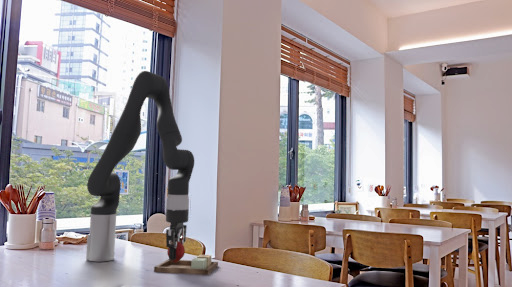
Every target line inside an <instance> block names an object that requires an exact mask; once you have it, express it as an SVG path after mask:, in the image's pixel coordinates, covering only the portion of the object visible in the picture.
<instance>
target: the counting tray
mask: <svg viewBox="0 0 512 287" xmlns="http://www.w3.org/2000/svg"><path fill="white" fill-rule="evenodd" d="M191 260H192V259H191ZM191 260H189V259H188V260H187V259H180V260H179V261H178V262H176V263H175V262H174V261H172V260H169V258H167V259H166V260H165V261H163V262H161V263H159V264H157V265H155V266H153V272H154V273H165V274H170V273H171V274H185V275H186V274H187V275H199V276H200V275H201V276H208V275H210V274H211V273H212V272H214V270H215V269H217V268H218V266H219V262H218V261H211V266H209V267H208V268H207V269H192V268H191Z"/></svg>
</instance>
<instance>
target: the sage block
mask: <svg viewBox="0 0 512 287" xmlns="http://www.w3.org/2000/svg"><path fill="white" fill-rule="evenodd" d="M206 267H207V259H206V258H197V257H194V258H192V259H191V268H192V269H206Z"/></svg>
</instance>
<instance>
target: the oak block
mask: <svg viewBox="0 0 512 287" xmlns="http://www.w3.org/2000/svg"><path fill="white" fill-rule="evenodd" d="M196 258H206V259H207V267H206V269H207V268H208V267H209V266H211V262H212V255H210V254H199V255H198V256H196Z"/></svg>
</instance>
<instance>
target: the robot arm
mask: <svg viewBox="0 0 512 287" xmlns="http://www.w3.org/2000/svg"><path fill="white" fill-rule="evenodd" d="M147 98H148V99H151V100H153V101H154V103H155V106H156V108H157V111H158V112H157V119H156V128H157V131H158V135H159V138H160V140H161V144H162V159H163V160H162V161H163V163H164V164H165V166H166V167H167V169H169V170H171V171H172V170H173V171H175V170H176V171H177V172H176V174H175V175H174V176H172V177H170V178H169V179H168V181H167V182H168V184H167V198H166V206H165V207H166V209H165V210H166V212H165V221H166V222H167V223H170V226H169V229H165V230H166V231H165V233H166V234H165V237H166V238H165V239H166V241H165V242H166V243H165V244H166V245H165V246H166V248H167V249H168V248H169V257H168V259H169V260H175V259H176V247H177V242H180V243H182V244H183V245H184V244H185V243H186V240H187V228H188V227H187V224H184V223H188V222H189V214H190V212H189V208H190V206H189V205H190V201H189V200H190V199H189V198H190V197H189V190H190V188H189V187H190V186H189V185H190V180H191V177H192V173H193V172H194V171H193V170H194V166H195V156H194V154H193V152H192V151H191V150H188V149H179V148H177V147H178V146H179V145H181V143H182V142H183V137H182V134H181V131H180V129H179V127H178V123H177V120H176V118H175V115H174V110H173V106H172V101H171V95H170V89H169V86H168V83H167V80H166V78H164V76H161V75H159V74H156V73H153V72H151V71H148V70H143V71H141V72H139V73H138V74H137V75H136V77H135V79H134V82H133V84H132V86H131V90H130V92H129V94H128V97H127V101H126V102H125V106H124V108H123V110H122V112H121V115H120V117H119V120H118V122H117V124H116V125H115V126H114V129H113V131H112V133H111V135H110V138H109V141H108V143H107V145H106V147H105V149H104V151H103V152H102V154H101V156H100V158H99V160H98V162H97V163H96V166H95V167H94V168H93V170H92V172H91V173H90V175H89V176H88V180H87V184H86V186H87V187H86V188H87V191H88V193H89V194H90V195H91V196H94V197H99V200H98V202H96V203H95V204H94V205H92V206H91V207H90V224H89V233H88V234H87V235H86V238H87V239H86V256H85V259H86V260H85V261H89V262H98V263H99V262H110V261H113V260H115V254H116V253H115V251H116V250H115V246H116V227H117V224H116V223H117V210H118V208H119V203H120V194H121V179H120V177H119V175H118V174H117V173H116V172H113V171H114V169H115V168H116V166H117V165H118V164H119V163H120V162H121V161H123V159H124V158H126V157H127V156H128V154H130V153H131V152H132V151H133V149H134V148H135V146H136V144H137V142H138V140H139V138H140V136H141V134H142V133H141V132H142V120H141V118H142V117H141V112H142V108H143V105H144V103H145V101H146V99H147ZM171 243H172V244H171Z"/></svg>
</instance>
